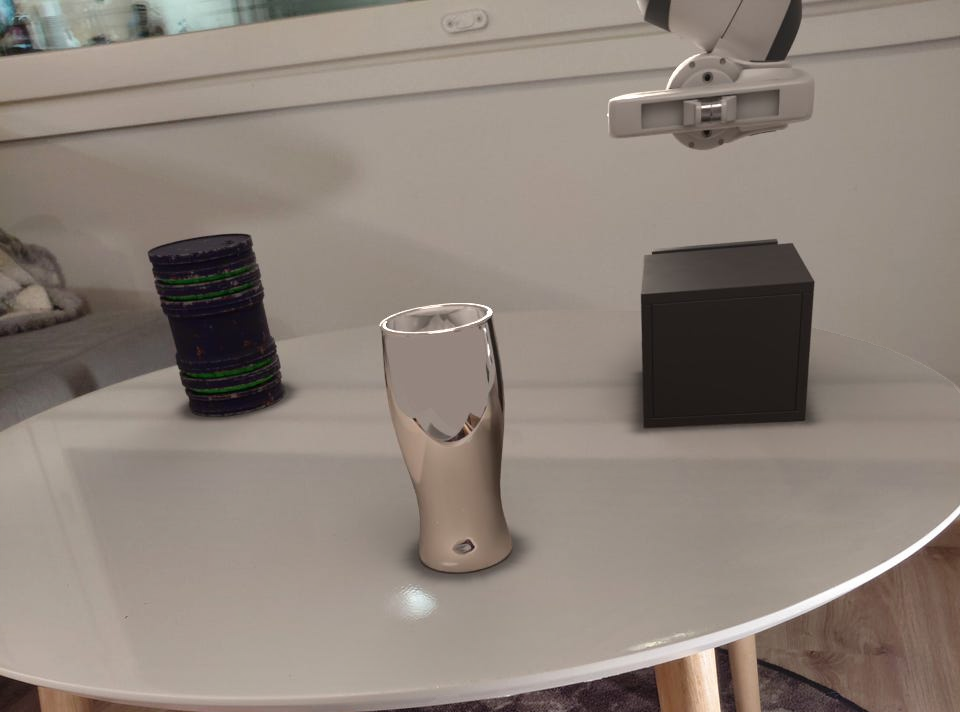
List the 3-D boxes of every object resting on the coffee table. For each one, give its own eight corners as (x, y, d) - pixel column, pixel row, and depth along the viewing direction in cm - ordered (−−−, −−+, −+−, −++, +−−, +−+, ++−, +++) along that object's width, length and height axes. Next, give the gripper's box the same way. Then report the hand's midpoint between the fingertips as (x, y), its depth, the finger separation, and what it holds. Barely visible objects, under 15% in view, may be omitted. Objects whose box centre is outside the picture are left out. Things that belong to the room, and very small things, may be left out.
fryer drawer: (653, 330, 100) (652, 240, 96) (768, 323, 98) (772, 230, 94) (651, 385, 86) (650, 281, 81) (786, 377, 83) (792, 270, 79)
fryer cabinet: (646, 373, 91) (643, 255, 86) (785, 365, 89) (792, 242, 83) (643, 428, 79) (640, 294, 74) (805, 420, 77) (814, 281, 71)
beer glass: (404, 540, 66) (367, 314, 58) (503, 520, 67) (480, 296, 59) (424, 585, 60) (386, 341, 52) (532, 563, 61) (510, 320, 53)
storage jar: (172, 419, 95) (126, 259, 87) (211, 387, 103) (172, 238, 96) (267, 413, 93) (230, 250, 86) (299, 382, 102) (267, 229, 94)
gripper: (607, 80, 105) (600, 88, 93) (806, 57, 101) (824, 63, 89) (609, 145, 108) (603, 160, 97) (801, 126, 104) (818, 140, 93)
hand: (711, 113), depth 93 cm, fingers closed
